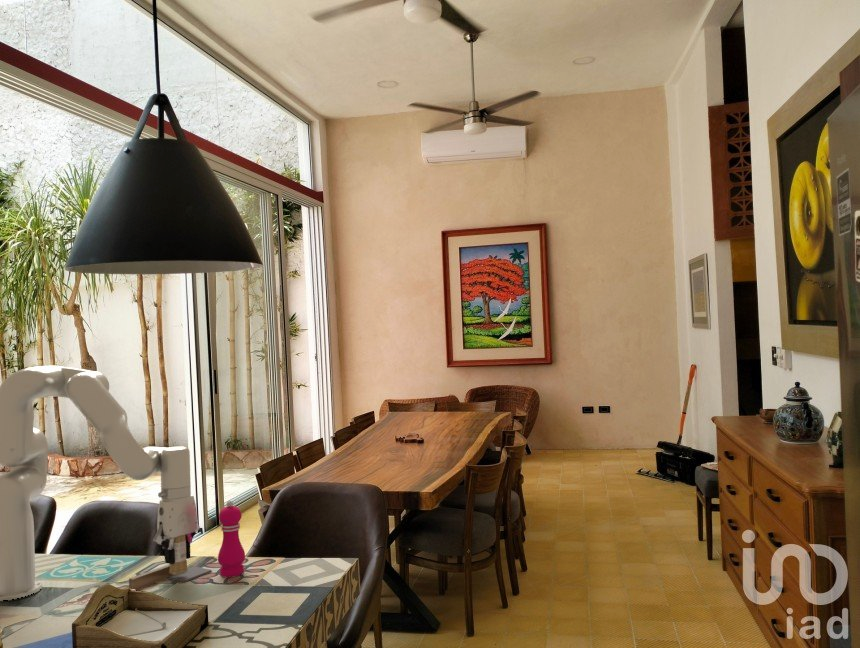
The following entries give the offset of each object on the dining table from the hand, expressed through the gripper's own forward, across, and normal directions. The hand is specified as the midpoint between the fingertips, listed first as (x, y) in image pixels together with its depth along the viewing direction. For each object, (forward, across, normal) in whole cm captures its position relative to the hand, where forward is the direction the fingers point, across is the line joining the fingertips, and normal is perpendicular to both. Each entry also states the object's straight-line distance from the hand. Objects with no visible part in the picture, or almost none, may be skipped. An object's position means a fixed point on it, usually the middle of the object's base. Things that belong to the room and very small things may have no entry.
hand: (177, 559), depth 186 cm
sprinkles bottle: (+4, 0, 0) cm, 4 cm away
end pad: (+5, +4, 0) cm, 6 cm away
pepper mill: (+5, +10, -10) cm, 15 cm away
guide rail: (+5, -3, +4) cm, 7 cm away
